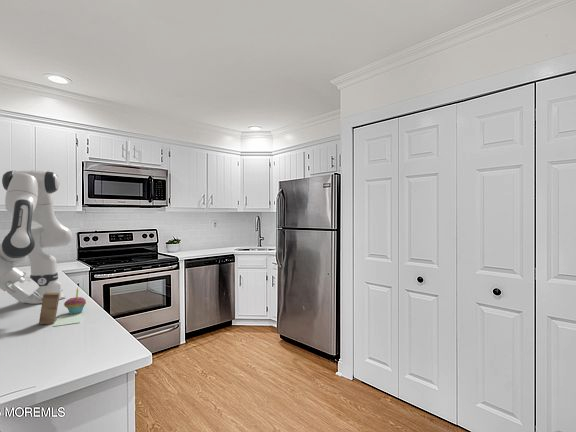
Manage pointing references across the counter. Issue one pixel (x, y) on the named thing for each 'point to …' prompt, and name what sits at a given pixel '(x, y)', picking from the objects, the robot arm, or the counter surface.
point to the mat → (68, 320)
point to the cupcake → (75, 304)
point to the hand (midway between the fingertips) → (41, 301)
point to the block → (49, 308)
